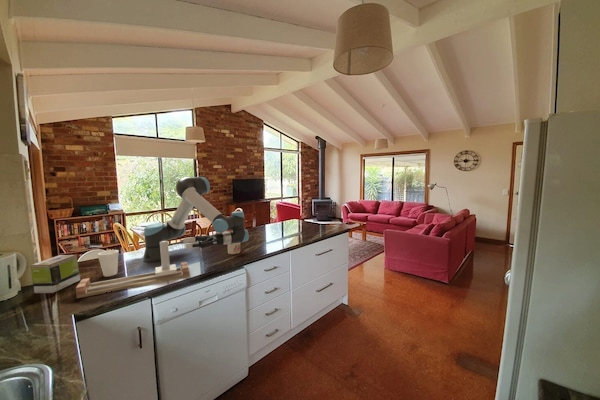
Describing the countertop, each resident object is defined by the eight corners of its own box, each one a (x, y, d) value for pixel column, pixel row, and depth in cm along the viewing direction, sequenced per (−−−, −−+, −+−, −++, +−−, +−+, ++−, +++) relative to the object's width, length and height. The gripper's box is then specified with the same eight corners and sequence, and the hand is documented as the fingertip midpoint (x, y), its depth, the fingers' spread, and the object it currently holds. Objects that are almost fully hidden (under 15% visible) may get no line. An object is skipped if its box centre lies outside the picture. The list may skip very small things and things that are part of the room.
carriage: (155, 270, 142) (153, 241, 140) (175, 267, 147) (173, 238, 145) (155, 276, 133) (153, 245, 132) (176, 272, 138) (174, 242, 137)
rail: (83, 288, 128) (82, 278, 127) (187, 269, 151) (186, 261, 150) (76, 298, 117) (75, 288, 117) (189, 276, 141) (188, 267, 140)
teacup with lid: (235, 255, 177) (234, 238, 176) (224, 253, 180) (224, 237, 179) (245, 250, 188) (244, 234, 187) (235, 249, 191) (234, 233, 190)
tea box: (62, 280, 138) (59, 254, 137) (80, 280, 138) (77, 254, 137) (33, 293, 123) (29, 264, 122) (53, 293, 123) (49, 264, 122)
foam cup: (119, 270, 153) (117, 248, 151) (122, 274, 146) (120, 252, 145) (99, 274, 146) (96, 252, 145) (101, 279, 139) (99, 256, 138)
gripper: (227, 250, 143) (186, 256, 133) (218, 239, 165) (182, 244, 154) (227, 236, 142) (186, 242, 132) (218, 228, 164) (182, 232, 154)
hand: (184, 243), depth 143 cm, fingers open, 13 cm apart
